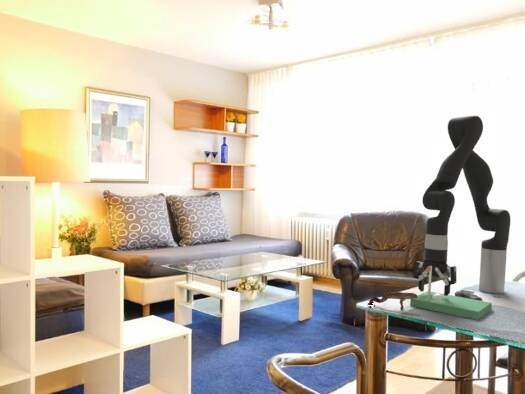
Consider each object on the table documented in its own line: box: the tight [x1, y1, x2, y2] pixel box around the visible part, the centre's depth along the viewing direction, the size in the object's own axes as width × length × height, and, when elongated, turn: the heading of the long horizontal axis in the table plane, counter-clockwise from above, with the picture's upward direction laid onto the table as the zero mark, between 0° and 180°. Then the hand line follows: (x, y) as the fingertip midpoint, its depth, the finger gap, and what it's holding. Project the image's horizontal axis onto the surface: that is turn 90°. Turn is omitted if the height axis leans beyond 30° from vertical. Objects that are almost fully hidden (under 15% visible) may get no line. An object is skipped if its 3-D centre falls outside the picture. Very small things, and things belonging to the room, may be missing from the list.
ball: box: [432, 293, 444, 300], centre depth 164 cm, size 4×4×4 cm
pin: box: [427, 266, 432, 302], centre depth 157 cm, size 3×1×12 cm, turn 140°
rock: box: [454, 290, 483, 301], centre depth 170 cm, size 8×10×4 cm
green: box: [409, 290, 493, 320], centre depth 161 cm, size 16×22×2 cm
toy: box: [367, 291, 417, 312], centre depth 157 cm, size 6×9×15 cm
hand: (433, 293), depth 164 cm, fingers open, 8 cm apart
